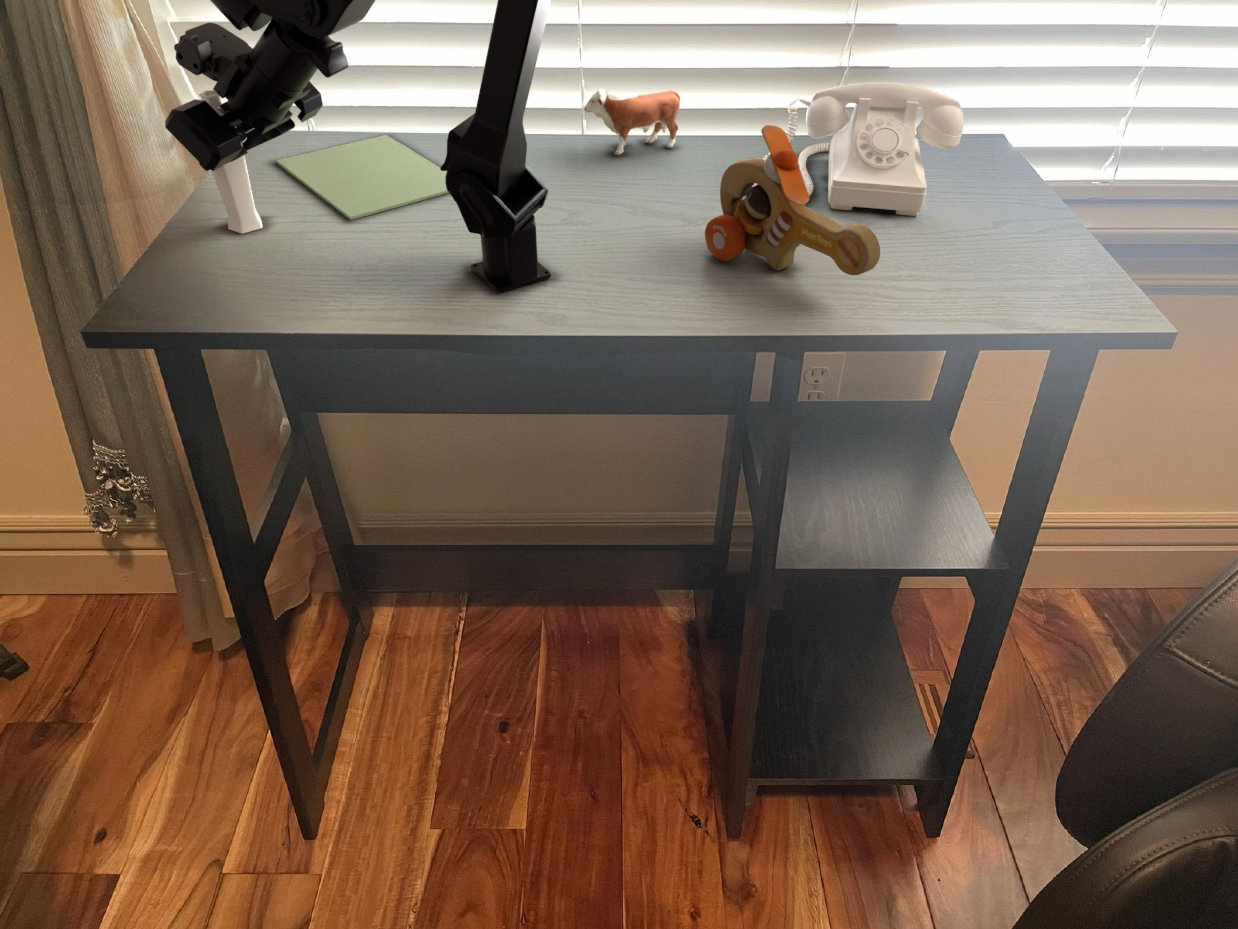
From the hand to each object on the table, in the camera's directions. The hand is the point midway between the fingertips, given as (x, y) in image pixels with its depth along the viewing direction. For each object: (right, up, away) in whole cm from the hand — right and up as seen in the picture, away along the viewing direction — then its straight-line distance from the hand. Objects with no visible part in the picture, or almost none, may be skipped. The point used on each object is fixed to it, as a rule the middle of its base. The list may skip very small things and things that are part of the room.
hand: (217, 159), depth 103 cm
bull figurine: (+46, +10, +25) cm, 54 cm away
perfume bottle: (+1, -6, +5) cm, 8 cm away
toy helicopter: (+62, -13, -2) cm, 63 cm away
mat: (+12, +3, +17) cm, 21 cm away
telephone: (+74, +3, +17) cm, 76 cm away
